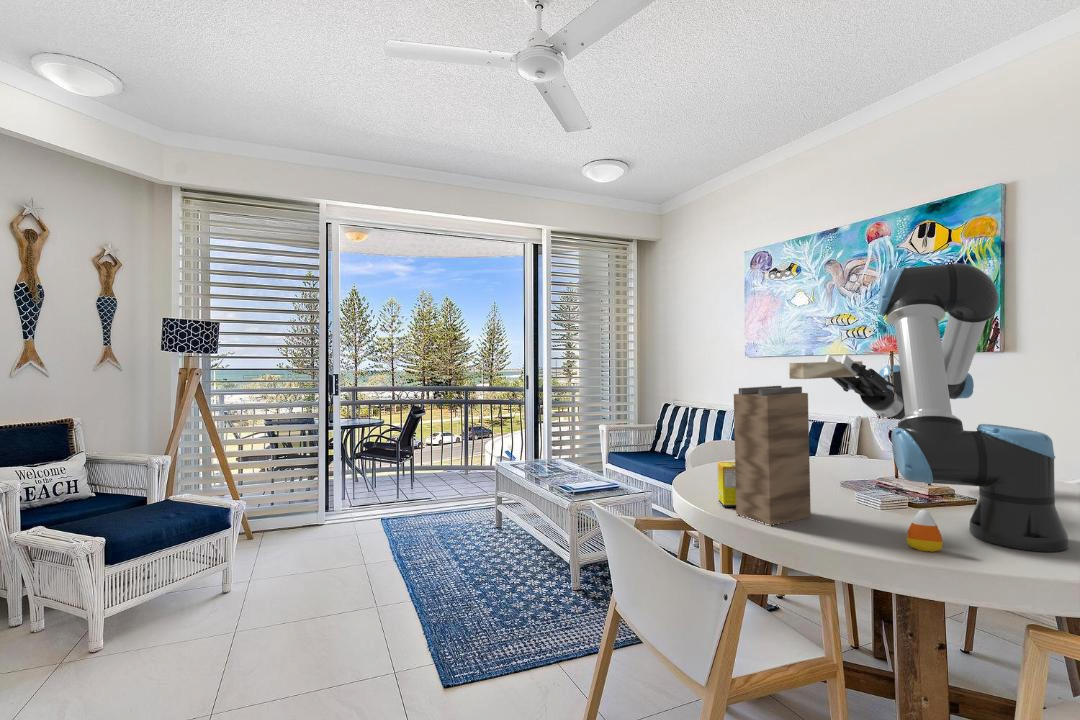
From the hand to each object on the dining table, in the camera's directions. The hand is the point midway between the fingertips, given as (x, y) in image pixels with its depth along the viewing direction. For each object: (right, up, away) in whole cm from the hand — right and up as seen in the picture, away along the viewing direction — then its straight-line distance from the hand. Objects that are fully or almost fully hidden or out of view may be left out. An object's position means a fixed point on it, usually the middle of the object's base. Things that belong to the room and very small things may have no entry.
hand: (834, 359), depth 139 cm
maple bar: (-3, -5, -2) cm, 6 cm away
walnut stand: (-22, -38, -12) cm, 45 cm away
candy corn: (-2, -38, -35) cm, 52 cm away
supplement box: (-28, -39, -1) cm, 48 cm away
